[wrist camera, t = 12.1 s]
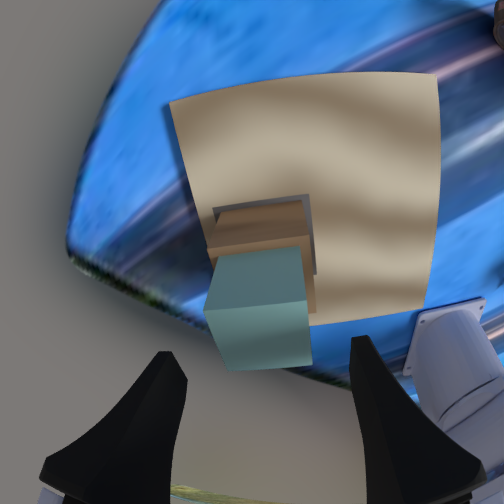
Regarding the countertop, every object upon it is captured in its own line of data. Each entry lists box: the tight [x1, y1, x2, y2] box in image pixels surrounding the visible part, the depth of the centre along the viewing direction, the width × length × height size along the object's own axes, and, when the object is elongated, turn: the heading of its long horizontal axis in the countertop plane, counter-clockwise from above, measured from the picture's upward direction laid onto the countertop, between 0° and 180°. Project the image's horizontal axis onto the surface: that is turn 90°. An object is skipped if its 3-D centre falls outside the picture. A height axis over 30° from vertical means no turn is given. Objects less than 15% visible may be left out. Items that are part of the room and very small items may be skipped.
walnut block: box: [207, 200, 317, 314], centre depth 17 cm, size 5×5×4 cm
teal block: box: [203, 246, 313, 371], centre depth 14 cm, size 4×4×4 cm
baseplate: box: [169, 72, 441, 326], centre depth 19 cm, size 18×16×1 cm
